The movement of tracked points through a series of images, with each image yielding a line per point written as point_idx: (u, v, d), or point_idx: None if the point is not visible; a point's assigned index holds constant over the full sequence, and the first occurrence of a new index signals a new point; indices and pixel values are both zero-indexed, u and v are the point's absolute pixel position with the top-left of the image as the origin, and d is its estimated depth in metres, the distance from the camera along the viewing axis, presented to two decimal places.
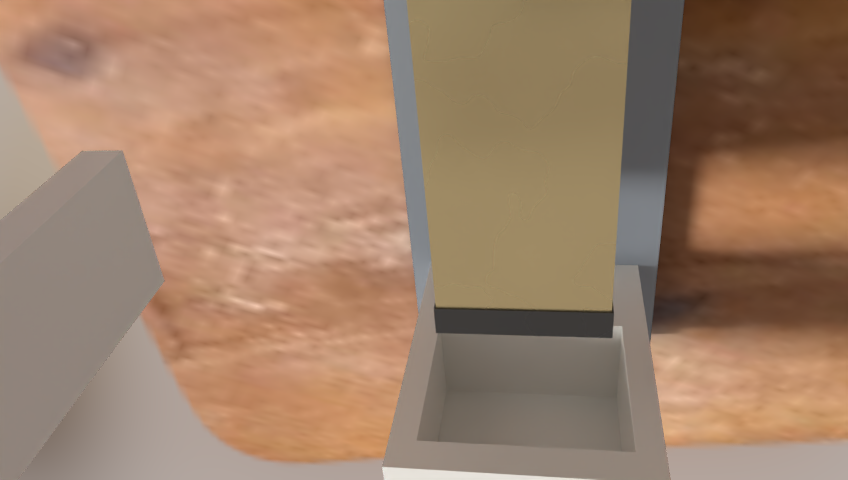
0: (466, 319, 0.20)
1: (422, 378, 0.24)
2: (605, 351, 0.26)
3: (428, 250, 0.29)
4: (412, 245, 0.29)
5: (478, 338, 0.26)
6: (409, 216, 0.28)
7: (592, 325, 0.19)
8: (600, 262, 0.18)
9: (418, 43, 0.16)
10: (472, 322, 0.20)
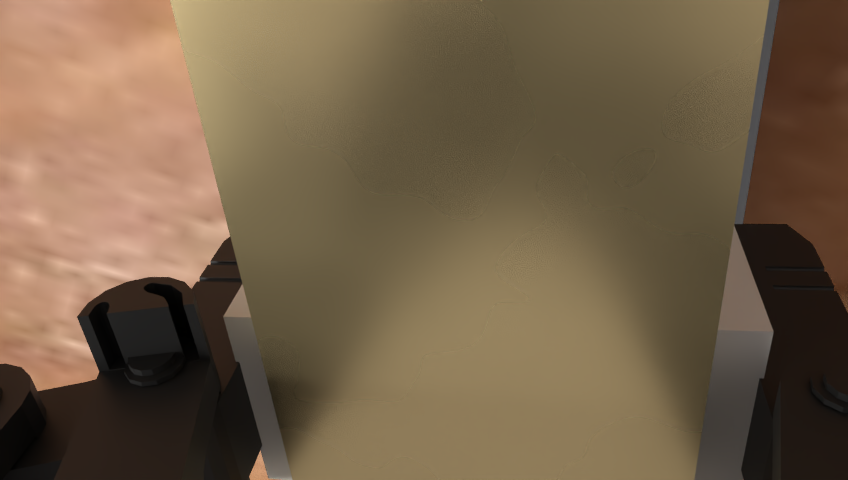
0: None
1: None
2: None
3: None
4: None
5: None
6: None
7: None
8: None
9: (279, 372, 0.08)
10: None
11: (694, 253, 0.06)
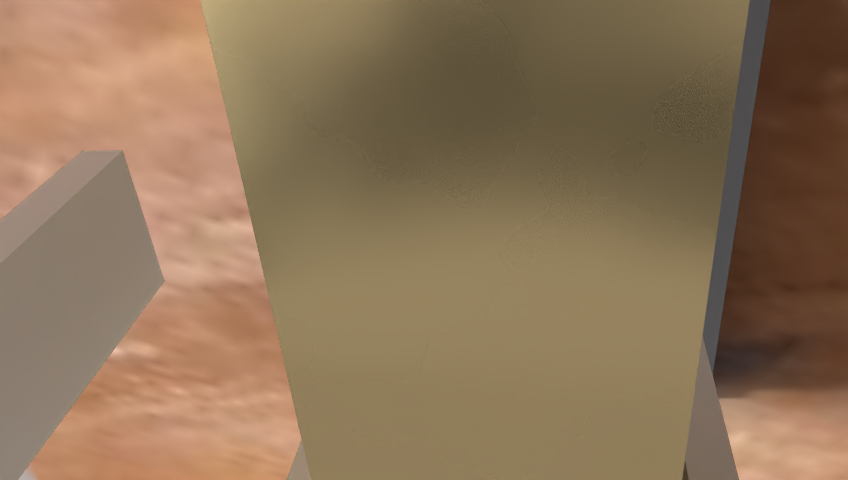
0: None
1: None
2: None
3: None
4: None
5: None
6: None
7: None
8: None
9: (295, 353, 0.08)
10: None
11: (682, 237, 0.07)
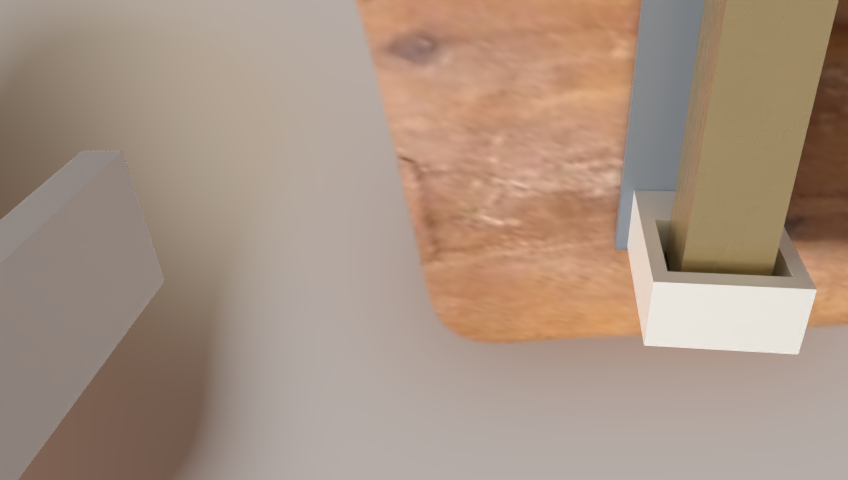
0: None
1: (657, 245, 0.40)
2: None
3: (634, 181, 0.46)
4: (624, 178, 0.46)
5: None
6: (626, 158, 0.45)
7: None
8: None
9: (700, 177, 0.36)
10: None
11: (795, 150, 0.35)
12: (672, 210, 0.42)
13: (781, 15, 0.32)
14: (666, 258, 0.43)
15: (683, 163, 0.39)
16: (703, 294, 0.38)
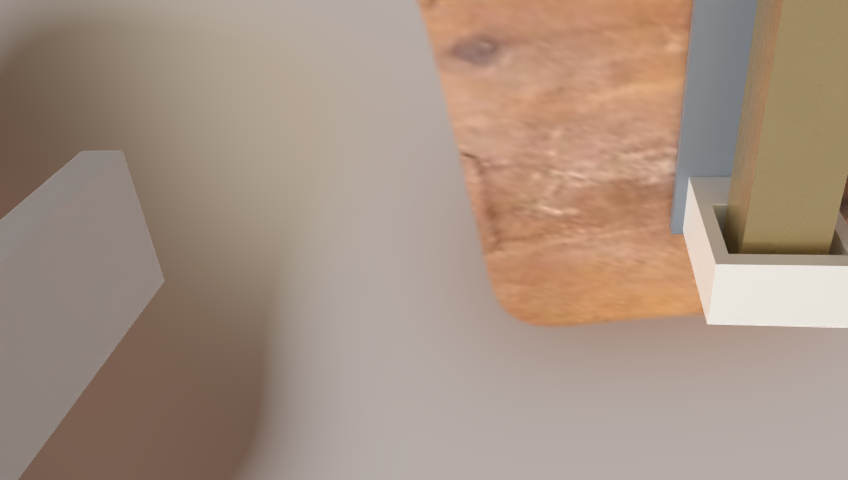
0: None
1: (716, 229, 0.43)
2: None
3: (689, 169, 0.48)
4: (679, 166, 0.48)
5: None
6: (681, 147, 0.47)
7: None
8: None
9: (759, 165, 0.38)
10: None
11: None
12: (729, 195, 0.44)
13: (835, 10, 0.34)
14: None
15: (740, 151, 0.42)
16: (763, 274, 0.40)
